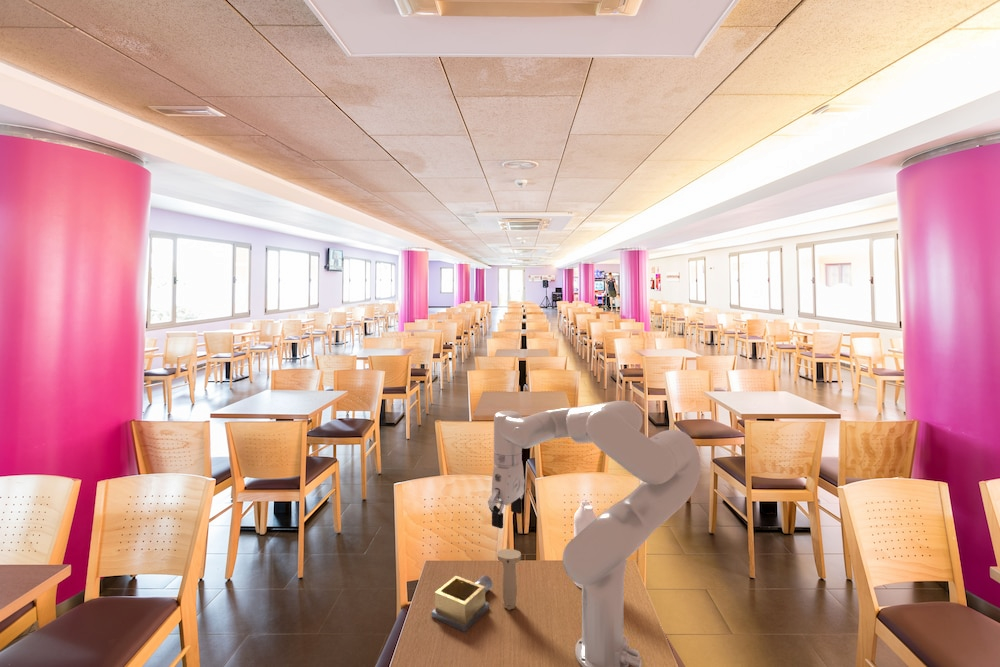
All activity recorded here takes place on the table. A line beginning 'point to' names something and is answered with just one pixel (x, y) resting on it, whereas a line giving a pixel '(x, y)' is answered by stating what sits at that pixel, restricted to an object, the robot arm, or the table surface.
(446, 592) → the socket
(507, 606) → the handle
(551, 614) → the table surface
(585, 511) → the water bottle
